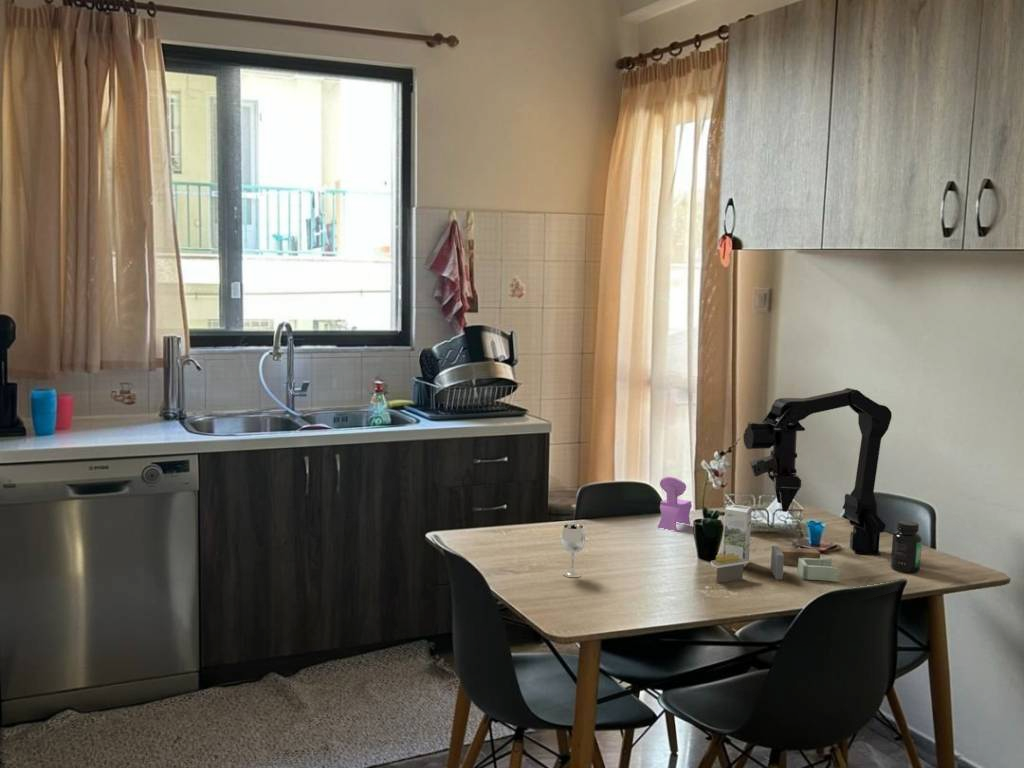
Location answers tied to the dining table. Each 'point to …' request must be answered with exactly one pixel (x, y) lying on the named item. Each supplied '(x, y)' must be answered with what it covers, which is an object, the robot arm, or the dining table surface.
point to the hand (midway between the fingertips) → (782, 507)
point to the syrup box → (737, 531)
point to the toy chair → (673, 504)
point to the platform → (728, 567)
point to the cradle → (817, 569)
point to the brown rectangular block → (798, 554)
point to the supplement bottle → (906, 548)
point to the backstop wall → (777, 562)
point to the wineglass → (572, 541)
